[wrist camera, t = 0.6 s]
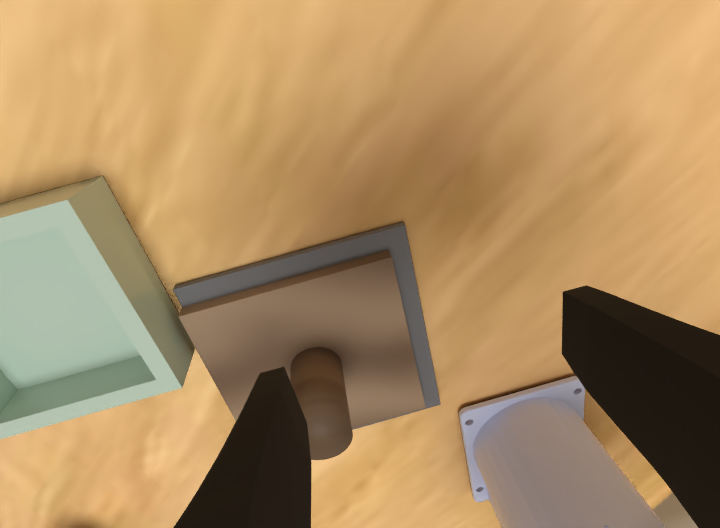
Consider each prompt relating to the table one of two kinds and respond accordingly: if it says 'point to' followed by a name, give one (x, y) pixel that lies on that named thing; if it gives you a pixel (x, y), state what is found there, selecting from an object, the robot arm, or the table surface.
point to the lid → (316, 346)
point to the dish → (80, 311)
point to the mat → (324, 257)
